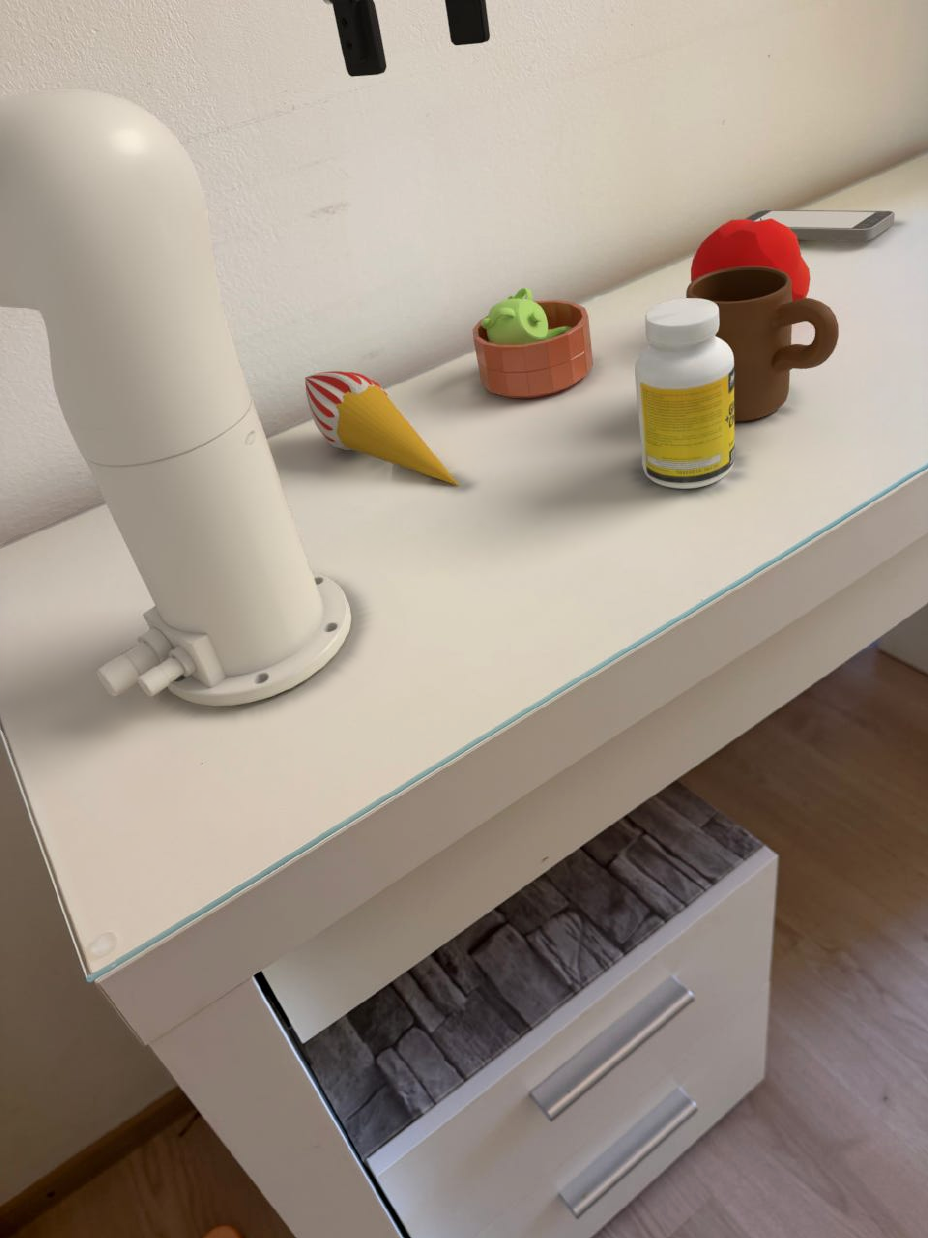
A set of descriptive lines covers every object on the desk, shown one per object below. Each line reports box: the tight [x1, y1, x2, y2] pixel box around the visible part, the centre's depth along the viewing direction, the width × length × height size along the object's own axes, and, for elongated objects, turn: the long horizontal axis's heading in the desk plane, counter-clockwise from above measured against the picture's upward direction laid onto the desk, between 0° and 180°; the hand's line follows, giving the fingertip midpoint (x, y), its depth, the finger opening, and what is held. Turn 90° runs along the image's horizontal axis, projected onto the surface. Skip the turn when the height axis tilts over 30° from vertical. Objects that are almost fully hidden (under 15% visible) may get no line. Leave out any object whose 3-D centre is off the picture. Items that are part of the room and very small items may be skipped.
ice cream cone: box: [304, 370, 460, 487], centre depth 76 cm, size 6×6×20 cm
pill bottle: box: [634, 297, 736, 490], centre depth 64 cm, size 6×6×12 cm
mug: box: [685, 266, 840, 423], centre depth 69 cm, size 12×8×9 cm, turn 40°
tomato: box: [690, 218, 811, 301], centre depth 81 cm, size 9×10×8 cm
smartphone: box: [744, 209, 896, 242], centre depth 99 cm, size 7×1×15 cm
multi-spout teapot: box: [481, 287, 572, 345], centre depth 82 cm, size 6×5×6 cm
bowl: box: [472, 299, 594, 399], centre depth 83 cm, size 10×10×5 cm
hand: (421, 58), depth 62 cm, fingers open, 9 cm apart
